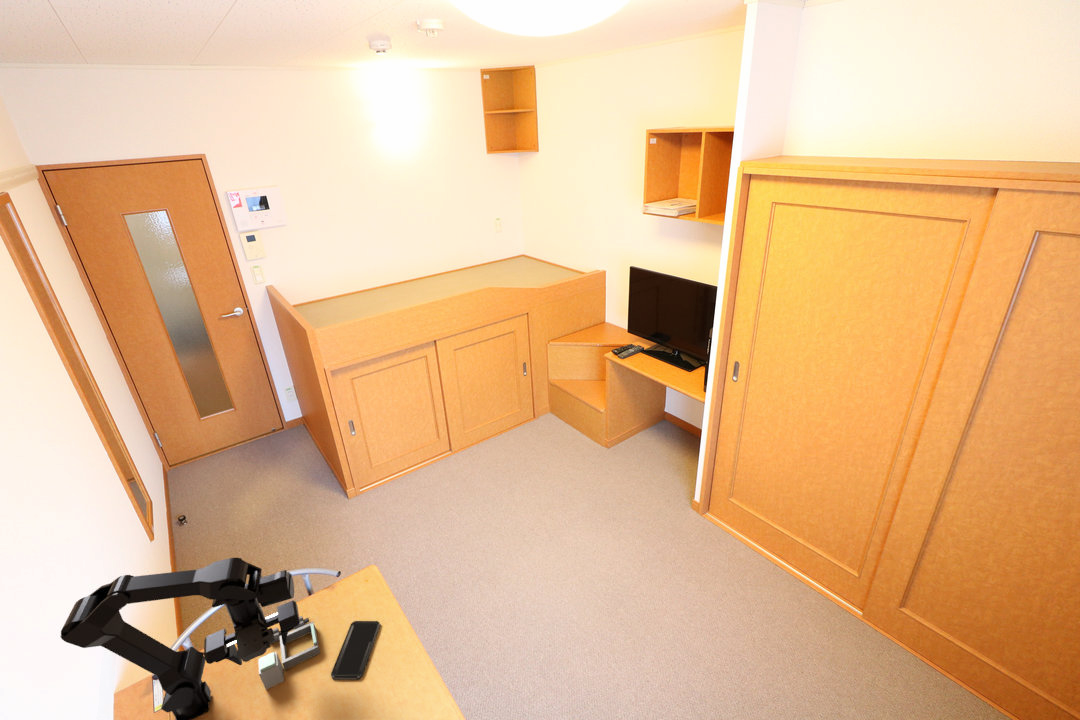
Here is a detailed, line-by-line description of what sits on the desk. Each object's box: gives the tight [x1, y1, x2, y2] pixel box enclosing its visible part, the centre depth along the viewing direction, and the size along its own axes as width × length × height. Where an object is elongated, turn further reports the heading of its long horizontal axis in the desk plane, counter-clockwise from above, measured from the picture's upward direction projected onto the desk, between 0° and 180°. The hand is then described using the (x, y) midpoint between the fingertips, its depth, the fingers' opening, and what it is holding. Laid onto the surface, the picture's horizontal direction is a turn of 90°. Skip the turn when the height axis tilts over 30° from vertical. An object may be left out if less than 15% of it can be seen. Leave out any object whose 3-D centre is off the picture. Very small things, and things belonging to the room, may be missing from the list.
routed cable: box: [272, 615, 310, 643], centre depth 131 cm, size 11×2×2 cm, turn 120°
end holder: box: [279, 621, 321, 671], centre depth 127 cm, size 8×8×3 cm
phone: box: [330, 620, 381, 681], centre depth 127 cm, size 8×1×15 cm
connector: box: [257, 651, 285, 690], centre depth 120 cm, size 4×4×7 cm
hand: (263, 653), depth 117 cm, fingers open, 9 cm apart
